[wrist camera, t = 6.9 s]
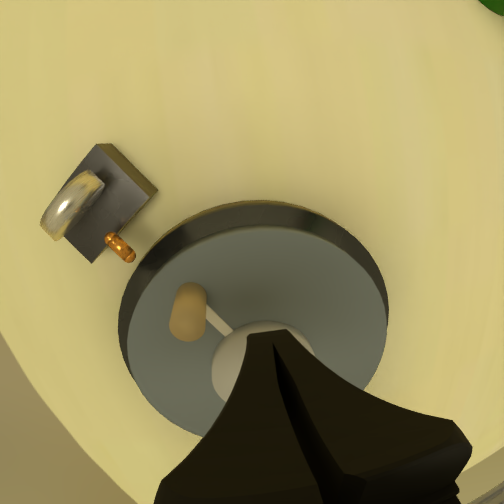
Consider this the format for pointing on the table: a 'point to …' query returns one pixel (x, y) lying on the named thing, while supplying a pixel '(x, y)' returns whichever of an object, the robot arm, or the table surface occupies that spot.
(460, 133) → the table surface
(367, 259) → the plinth
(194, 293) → the disc
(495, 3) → the motor
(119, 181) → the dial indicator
